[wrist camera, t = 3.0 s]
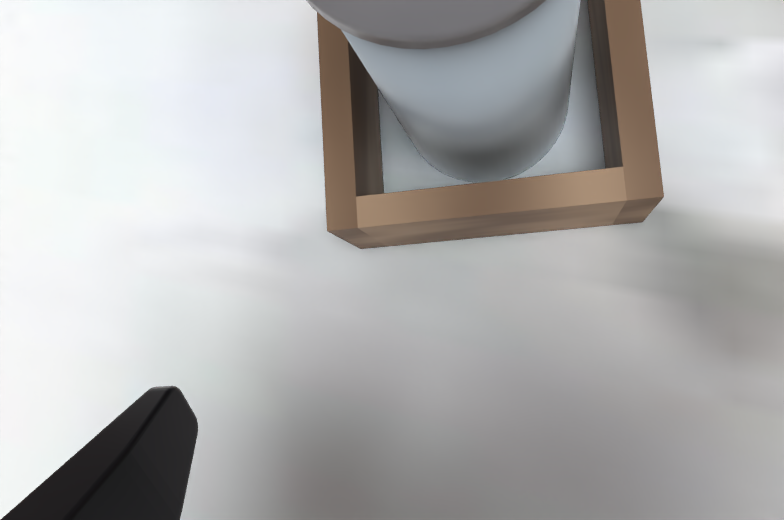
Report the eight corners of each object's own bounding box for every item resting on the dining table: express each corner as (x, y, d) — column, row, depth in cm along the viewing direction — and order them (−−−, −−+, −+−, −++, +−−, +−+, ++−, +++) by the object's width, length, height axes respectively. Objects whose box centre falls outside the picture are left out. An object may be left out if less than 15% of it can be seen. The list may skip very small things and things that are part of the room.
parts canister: (402, 199, 24) (266, 58, 12) (392, 33, 25) (256, -252, 13) (585, 179, 23) (637, -3, 11) (567, 4, 24) (596, -344, 12)
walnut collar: (361, 248, 24) (327, 231, 21) (347, -1, 26) (313, -61, 22) (642, 222, 22) (664, 196, 18) (611, -48, 24) (625, -124, 20)
